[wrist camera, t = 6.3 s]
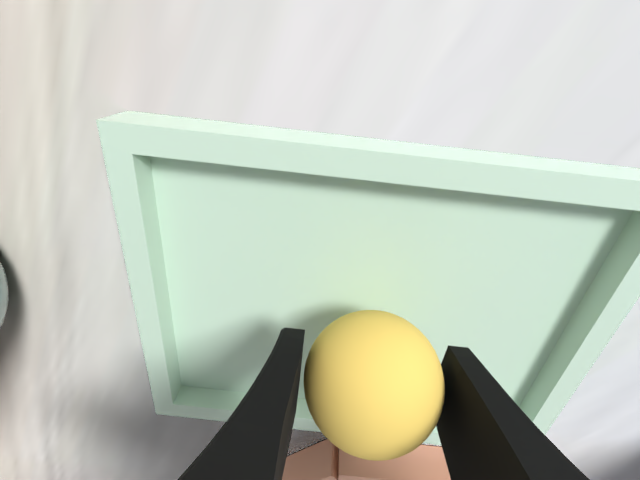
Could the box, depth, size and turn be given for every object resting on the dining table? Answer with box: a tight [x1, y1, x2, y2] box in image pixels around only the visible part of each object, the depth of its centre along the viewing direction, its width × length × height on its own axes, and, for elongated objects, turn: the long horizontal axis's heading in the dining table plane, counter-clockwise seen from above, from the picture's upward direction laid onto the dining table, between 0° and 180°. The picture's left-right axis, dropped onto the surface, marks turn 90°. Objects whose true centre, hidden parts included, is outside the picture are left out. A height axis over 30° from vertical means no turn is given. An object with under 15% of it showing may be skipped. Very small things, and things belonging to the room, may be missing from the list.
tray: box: [96, 111, 640, 445], centre depth 13 cm, size 16×12×2 cm
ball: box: [304, 310, 445, 461], centre depth 10 cm, size 4×4×4 cm
